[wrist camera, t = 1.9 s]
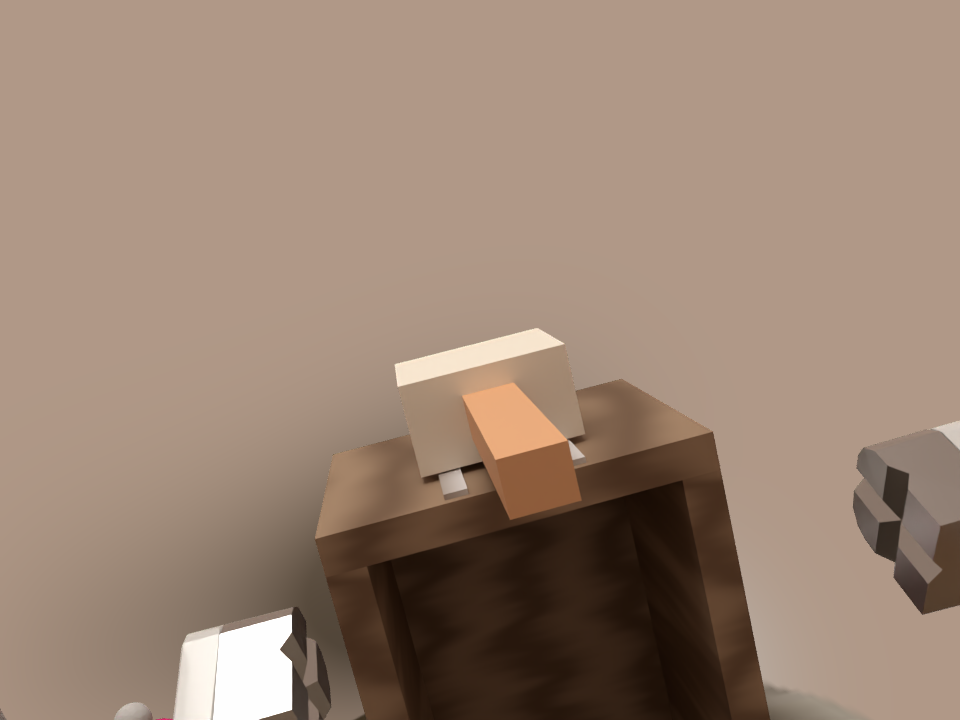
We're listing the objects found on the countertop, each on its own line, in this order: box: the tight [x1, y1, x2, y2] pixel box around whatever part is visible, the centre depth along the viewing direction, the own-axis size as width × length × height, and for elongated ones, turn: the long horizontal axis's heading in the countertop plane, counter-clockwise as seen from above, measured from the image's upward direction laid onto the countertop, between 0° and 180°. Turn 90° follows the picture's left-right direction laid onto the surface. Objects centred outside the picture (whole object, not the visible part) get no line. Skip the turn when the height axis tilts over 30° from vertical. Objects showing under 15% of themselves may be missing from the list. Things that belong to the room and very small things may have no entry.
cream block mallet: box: [395, 328, 585, 520], centre depth 42 cm, size 9×21×5 cm, turn 7°
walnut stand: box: [315, 379, 770, 720], centre depth 51 cm, size 20×16×26 cm
